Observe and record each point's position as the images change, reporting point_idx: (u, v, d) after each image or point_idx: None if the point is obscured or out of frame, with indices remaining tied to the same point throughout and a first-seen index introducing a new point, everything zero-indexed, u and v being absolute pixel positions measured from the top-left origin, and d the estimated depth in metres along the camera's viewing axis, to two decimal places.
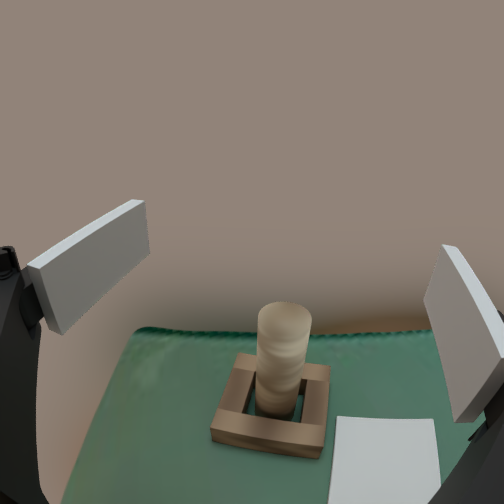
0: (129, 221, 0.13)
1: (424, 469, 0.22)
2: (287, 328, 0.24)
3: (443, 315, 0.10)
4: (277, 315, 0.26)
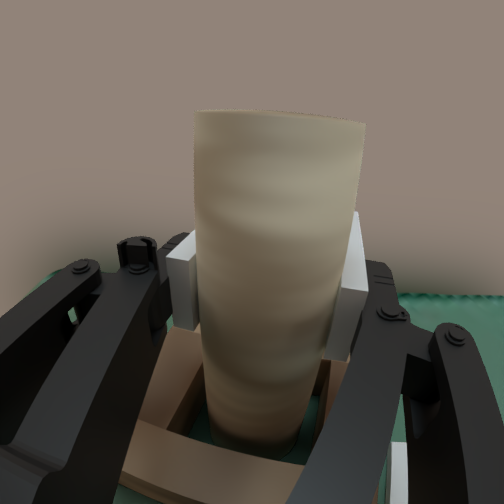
0: None
1: None
2: (288, 116, 0.06)
3: None
4: (256, 112, 0.08)
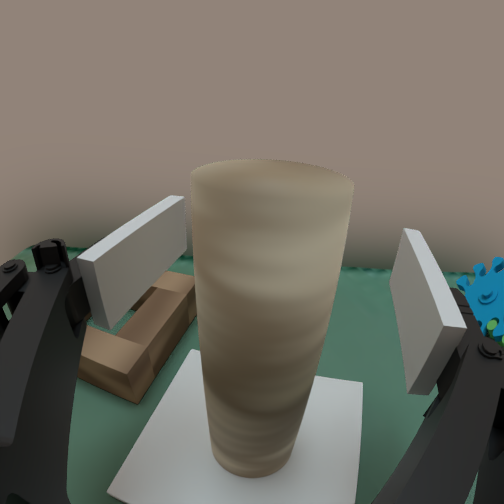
0: (171, 216, 0.13)
1: (324, 470, 0.13)
2: (278, 187, 0.07)
3: (403, 293, 0.11)
4: (250, 170, 0.09)
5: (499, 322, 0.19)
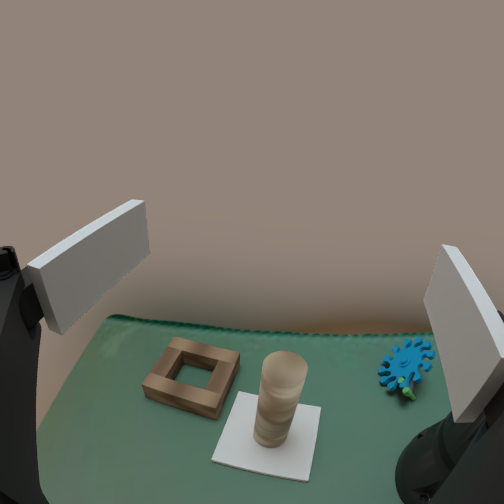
0: (129, 221, 0.13)
1: (300, 445, 0.34)
2: (286, 377, 0.28)
3: (443, 315, 0.10)
4: (279, 364, 0.29)
5: (405, 379, 0.40)
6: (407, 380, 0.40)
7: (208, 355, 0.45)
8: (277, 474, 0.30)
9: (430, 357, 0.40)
